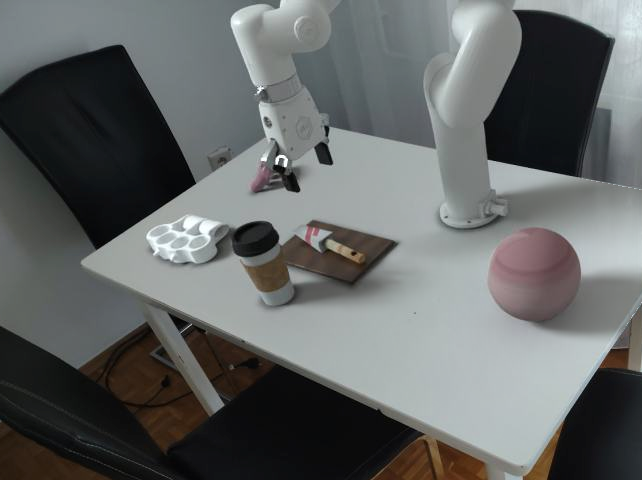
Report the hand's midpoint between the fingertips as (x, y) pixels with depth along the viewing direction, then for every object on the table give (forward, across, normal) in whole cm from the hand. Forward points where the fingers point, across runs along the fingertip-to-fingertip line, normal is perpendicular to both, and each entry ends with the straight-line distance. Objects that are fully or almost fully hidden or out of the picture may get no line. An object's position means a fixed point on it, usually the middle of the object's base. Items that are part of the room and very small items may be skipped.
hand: (310, 177), depth 119 cm
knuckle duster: (+16, -11, +33) cm, 38 cm away
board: (+16, -1, 0) cm, 16 cm away
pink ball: (+17, -2, -46) cm, 49 cm away
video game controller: (+16, +16, +35) cm, 42 cm away
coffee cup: (+16, -17, +1) cm, 23 cm away
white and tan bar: (+16, -1, 0) cm, 16 cm away
